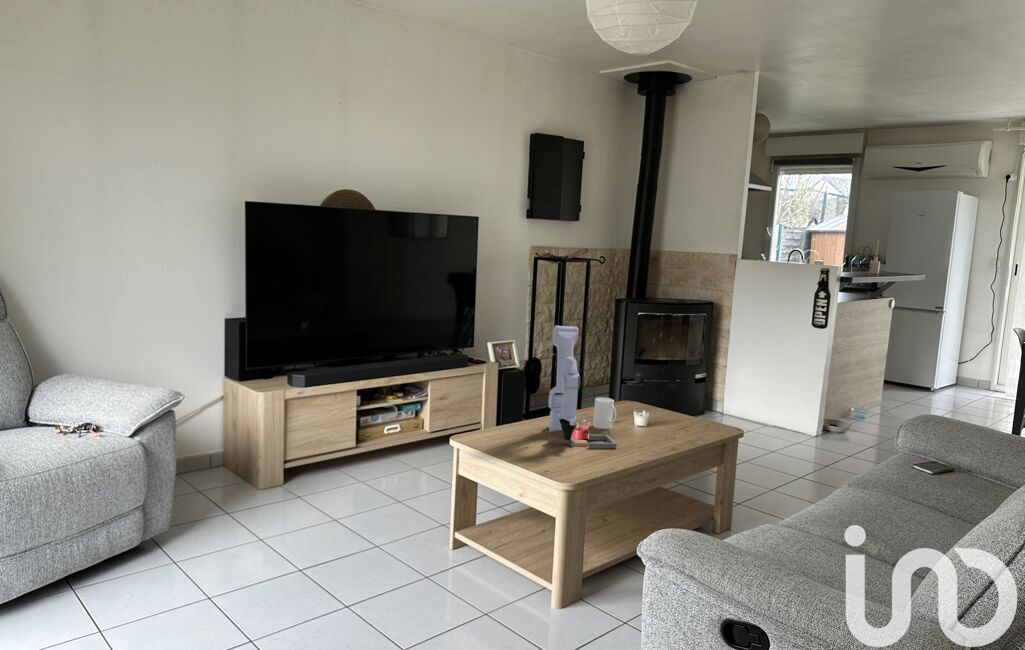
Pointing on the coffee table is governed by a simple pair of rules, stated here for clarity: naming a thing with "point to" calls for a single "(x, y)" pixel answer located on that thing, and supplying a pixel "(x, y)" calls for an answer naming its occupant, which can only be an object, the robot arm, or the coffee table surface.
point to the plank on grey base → (559, 438)
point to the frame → (609, 443)
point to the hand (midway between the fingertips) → (566, 438)
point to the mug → (604, 413)
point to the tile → (580, 442)
